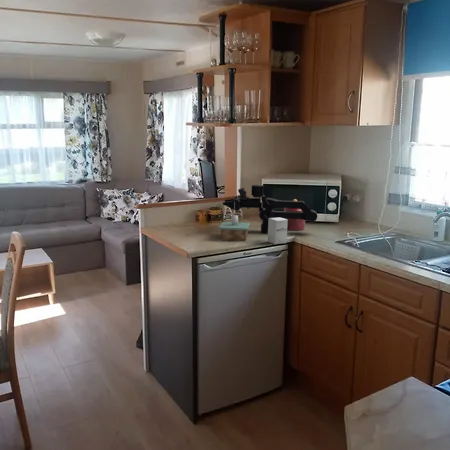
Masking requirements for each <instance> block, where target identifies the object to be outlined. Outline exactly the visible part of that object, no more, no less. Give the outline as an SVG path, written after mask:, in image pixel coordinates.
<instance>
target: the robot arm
mask: <svg viewBox="0 0 450 450" xmlns="http://www.w3.org/2000/svg"><path fill="white" fill-rule="evenodd" d="M264 187H265V185H259V184H251V191H250V192H251V193H250V196H252V197H250V196H248V195H247V191H246V189H245V187H241V188H239V189H238V190H237V191H238V193H239V194H238V195H236V196H235V197H233V198H230V199H224V202H222V205H223V206H226V207H227V208H230V209H232V210H233V211H236V212H237V211H239V210H240V209H247V210H248V209H258V212H259V214H258V216H259V219H260V220H262V221H261V223H260V232H261V234H268V221H269V218H278V217H280V218H285V219H302V220H305V222H310V223H315V221H317V219H318V213H317V211H315V210H314V209H312V208H311V207H310V206H308V205H307V204H306V203H305V201H304V200H297V201H293V200H280V199H276V198H272V197H267V196H266V195H265V194H264ZM279 208H281V209H284V208H300V209H301V210H302V212H294V211H285V210H276V209H279ZM274 209H275V210H274Z"/></svg>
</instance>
